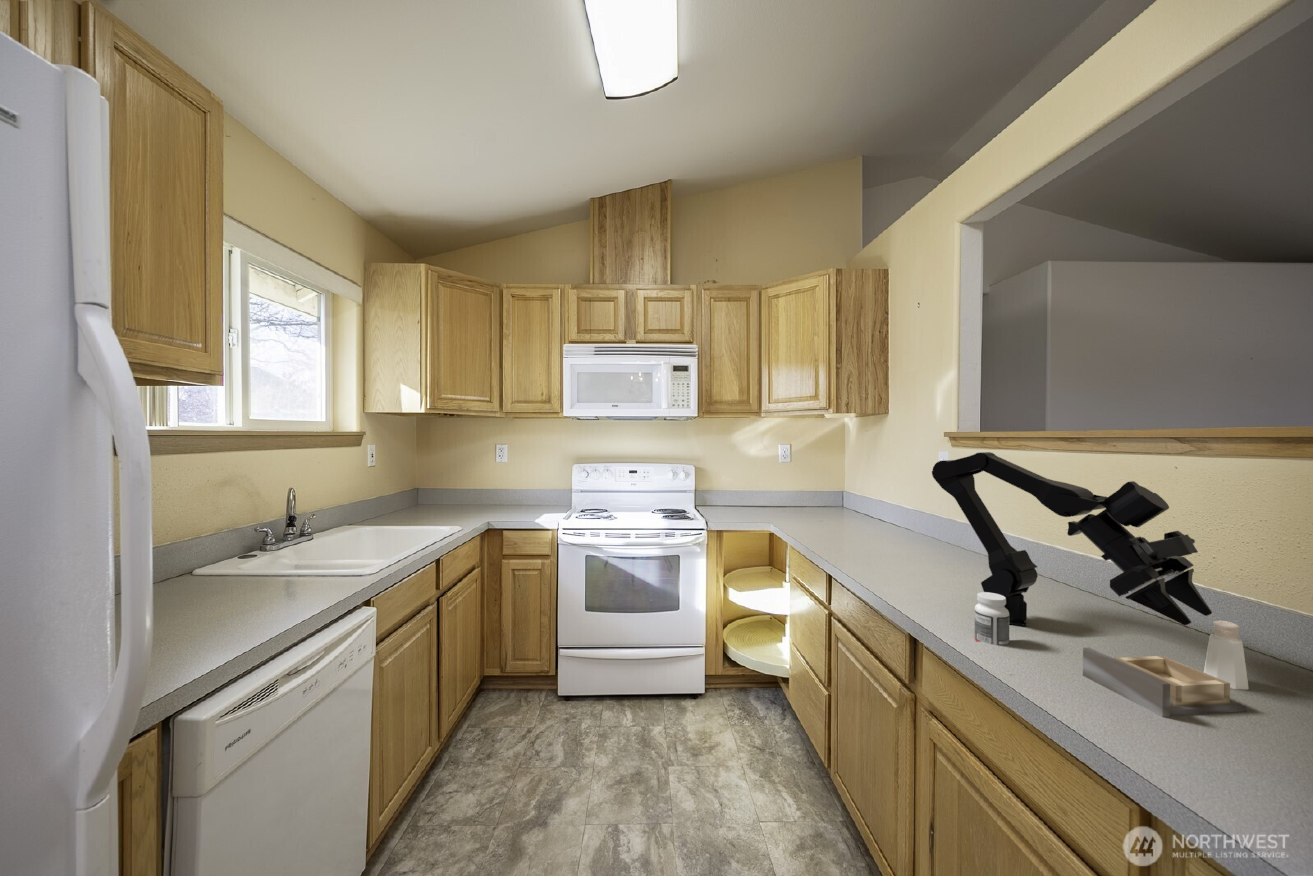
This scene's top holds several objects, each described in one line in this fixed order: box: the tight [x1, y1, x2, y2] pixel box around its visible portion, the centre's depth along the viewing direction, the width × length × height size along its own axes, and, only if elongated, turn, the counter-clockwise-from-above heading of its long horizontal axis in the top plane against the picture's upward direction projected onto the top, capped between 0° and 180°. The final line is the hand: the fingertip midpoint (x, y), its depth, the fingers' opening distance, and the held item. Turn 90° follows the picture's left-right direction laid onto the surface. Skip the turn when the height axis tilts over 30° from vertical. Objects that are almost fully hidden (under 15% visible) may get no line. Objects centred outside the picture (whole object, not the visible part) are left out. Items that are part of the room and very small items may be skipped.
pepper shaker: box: [1203, 619, 1249, 691], centre depth 80 cm, size 5×5×11 cm
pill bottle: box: [974, 591, 1010, 646], centre depth 97 cm, size 6×6×10 cm
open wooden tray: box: [1082, 646, 1247, 718], centre depth 79 cm, size 16×16×6 cm
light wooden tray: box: [1113, 655, 1231, 707], centre depth 77 cm, size 9×9×4 cm
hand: (1199, 619), depth 83 cm, fingers open, 9 cm apart
